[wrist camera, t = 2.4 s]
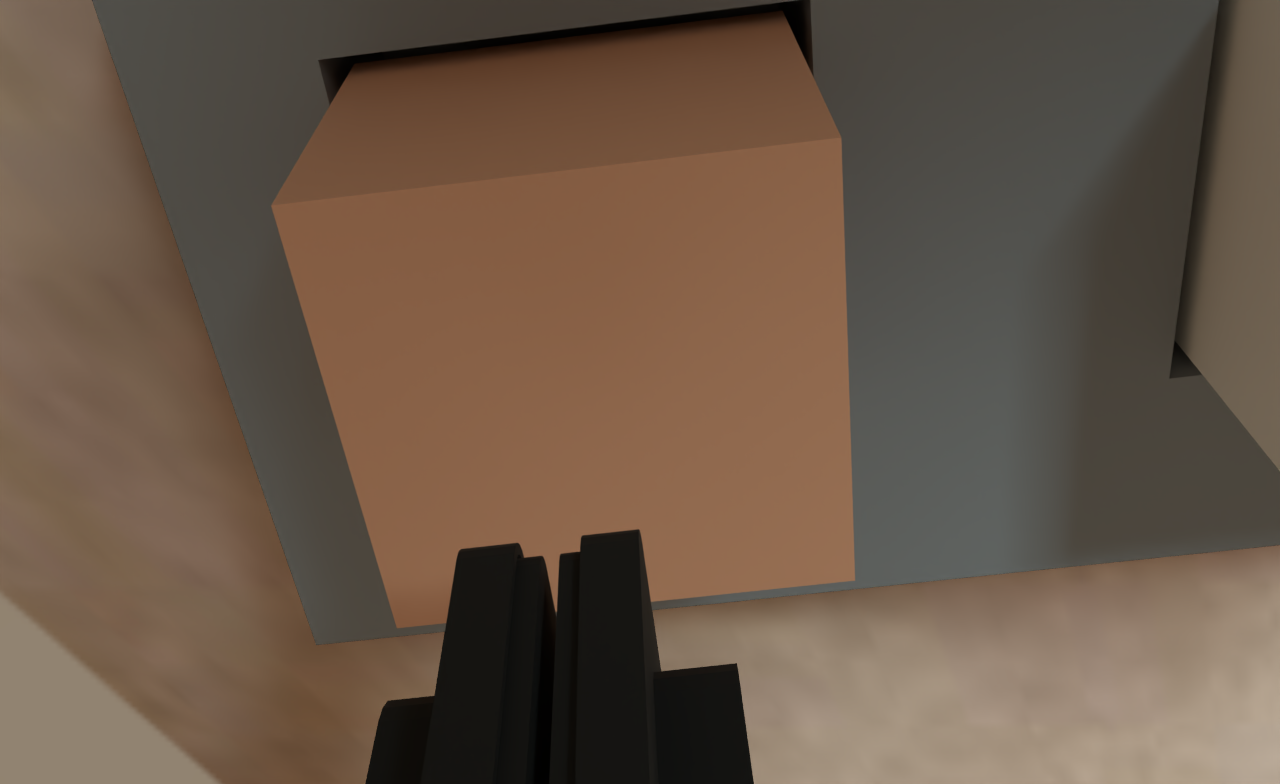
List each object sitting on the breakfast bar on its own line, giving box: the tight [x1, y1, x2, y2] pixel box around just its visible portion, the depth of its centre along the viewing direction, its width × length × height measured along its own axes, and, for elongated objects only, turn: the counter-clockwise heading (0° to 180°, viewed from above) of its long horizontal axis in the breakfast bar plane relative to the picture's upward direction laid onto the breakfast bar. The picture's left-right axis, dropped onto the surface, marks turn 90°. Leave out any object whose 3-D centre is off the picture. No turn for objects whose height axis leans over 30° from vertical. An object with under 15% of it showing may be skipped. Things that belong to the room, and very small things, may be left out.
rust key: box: [271, 11, 855, 628], centre depth 16 cm, size 6×6×5 cm
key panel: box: [92, 0, 1280, 645], centre depth 20 cm, size 14×24×5 cm, turn 97°
